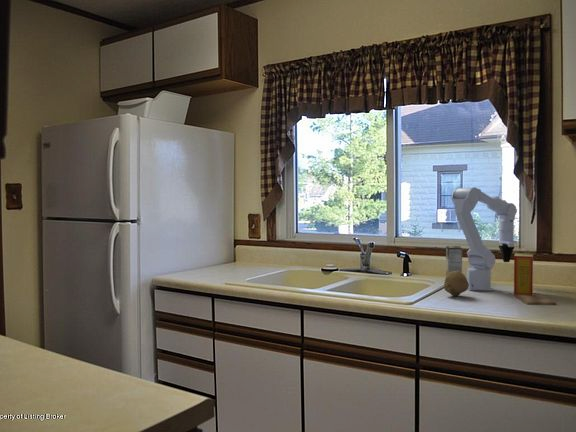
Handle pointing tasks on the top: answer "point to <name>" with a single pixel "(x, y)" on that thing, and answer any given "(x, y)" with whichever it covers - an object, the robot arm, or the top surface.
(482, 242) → the robot arm
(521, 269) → the baking soda box
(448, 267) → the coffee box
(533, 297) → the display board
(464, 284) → the natural sponge
